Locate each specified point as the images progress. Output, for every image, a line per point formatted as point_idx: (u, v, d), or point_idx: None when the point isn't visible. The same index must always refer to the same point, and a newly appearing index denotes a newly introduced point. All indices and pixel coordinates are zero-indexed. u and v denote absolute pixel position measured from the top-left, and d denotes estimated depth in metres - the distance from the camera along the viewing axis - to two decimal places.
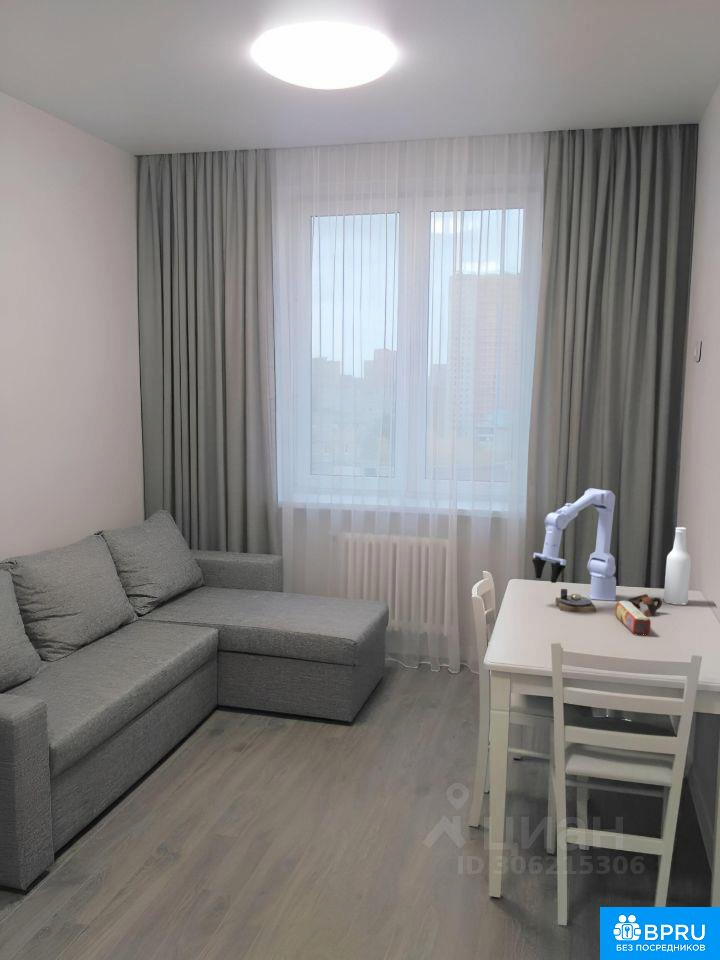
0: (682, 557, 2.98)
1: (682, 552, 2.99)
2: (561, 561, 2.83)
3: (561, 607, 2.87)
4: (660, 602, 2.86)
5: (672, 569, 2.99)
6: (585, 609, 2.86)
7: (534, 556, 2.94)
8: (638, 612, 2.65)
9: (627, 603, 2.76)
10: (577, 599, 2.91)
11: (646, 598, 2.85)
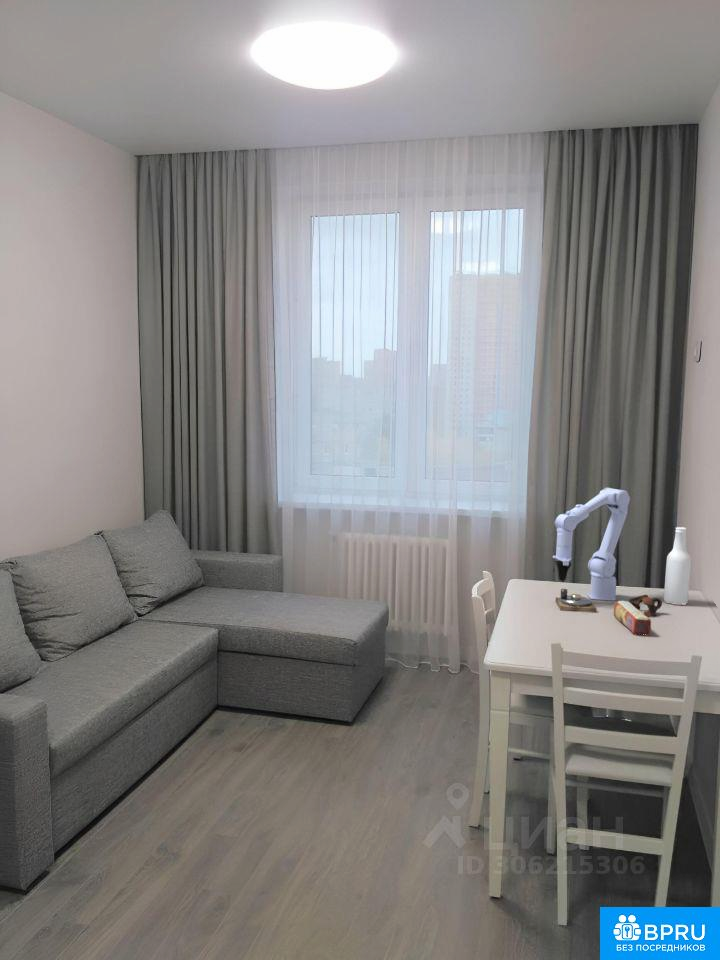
0: (682, 557, 2.98)
1: (682, 552, 2.99)
2: (563, 561, 2.92)
3: (561, 607, 2.87)
4: (660, 602, 2.86)
5: (672, 569, 2.99)
6: (585, 609, 2.86)
7: None
8: (638, 612, 2.65)
9: (626, 603, 2.76)
10: (577, 599, 2.91)
11: (646, 598, 2.84)
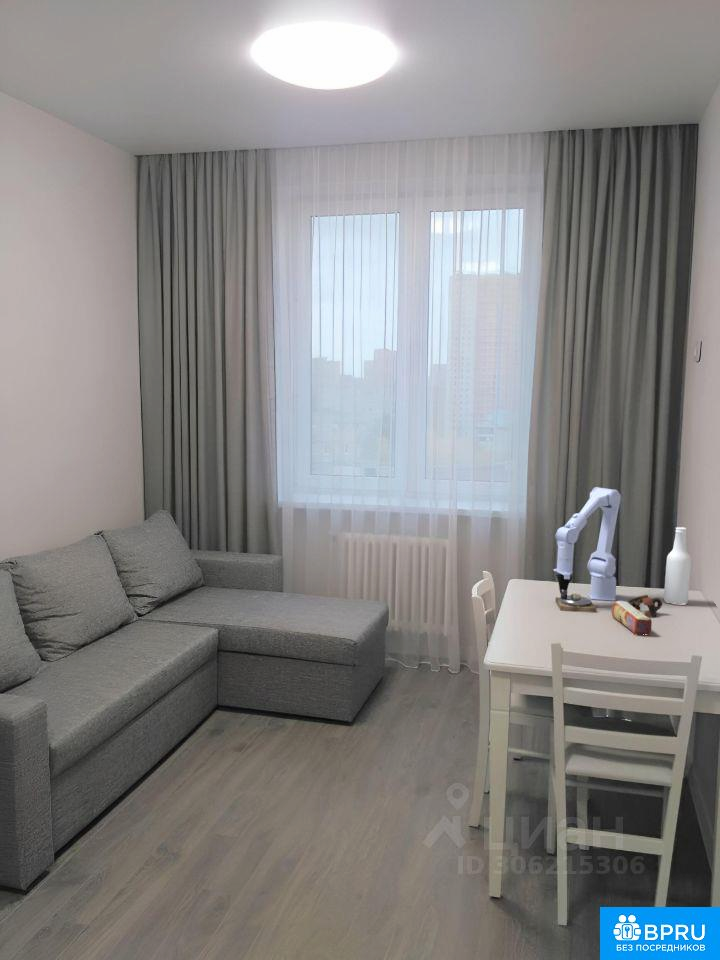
0: (682, 557, 2.98)
1: (682, 552, 2.99)
2: (564, 575, 2.88)
3: (561, 607, 2.87)
4: (660, 602, 2.85)
5: (672, 569, 2.99)
6: (585, 609, 2.86)
7: None
8: (638, 612, 2.65)
9: (624, 603, 2.76)
10: (577, 599, 2.91)
11: (646, 599, 2.84)
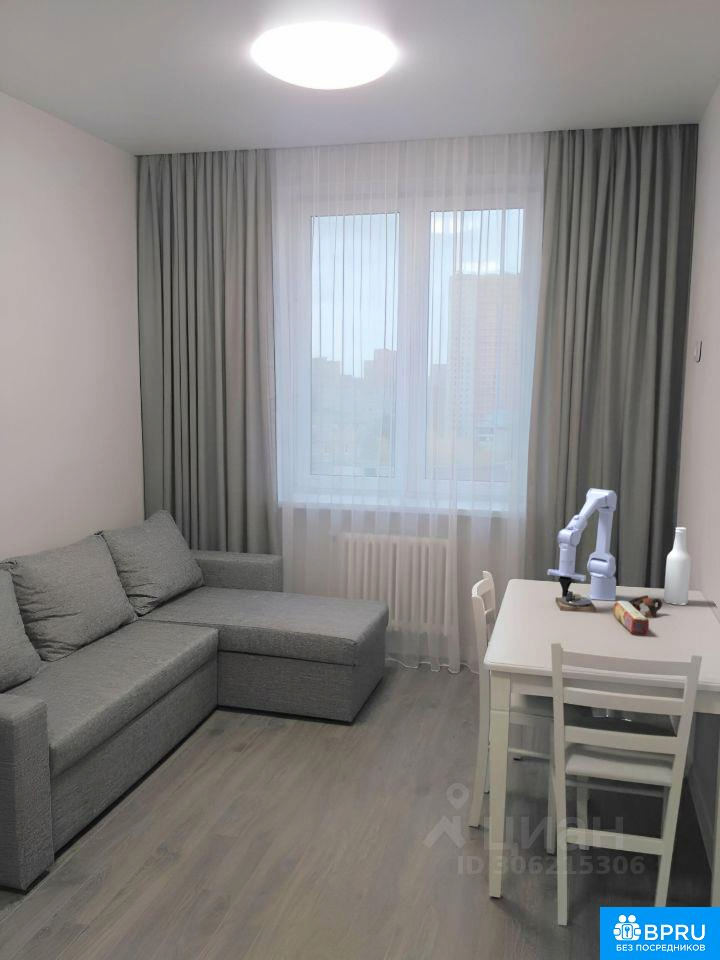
0: (682, 557, 2.98)
1: (682, 552, 2.99)
2: (582, 578, 2.85)
3: (561, 607, 2.87)
4: (660, 603, 2.85)
5: (672, 569, 2.99)
6: (585, 609, 2.86)
7: (549, 573, 2.93)
8: (636, 612, 2.65)
9: (625, 603, 2.76)
10: (580, 599, 2.92)
11: (647, 599, 2.83)
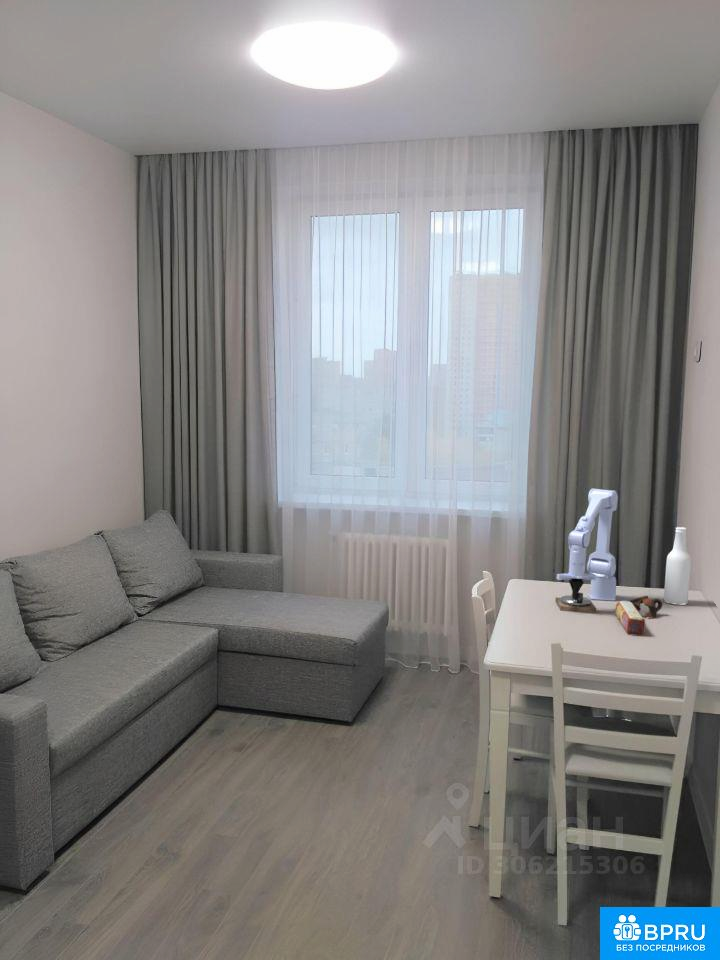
0: (682, 557, 2.98)
1: (682, 552, 2.99)
2: (594, 577, 2.87)
3: (561, 607, 2.87)
4: (660, 603, 2.84)
5: (672, 569, 2.99)
6: (585, 609, 2.86)
7: (560, 578, 2.85)
8: (634, 612, 2.65)
9: (627, 603, 2.76)
10: None
11: (647, 600, 2.83)
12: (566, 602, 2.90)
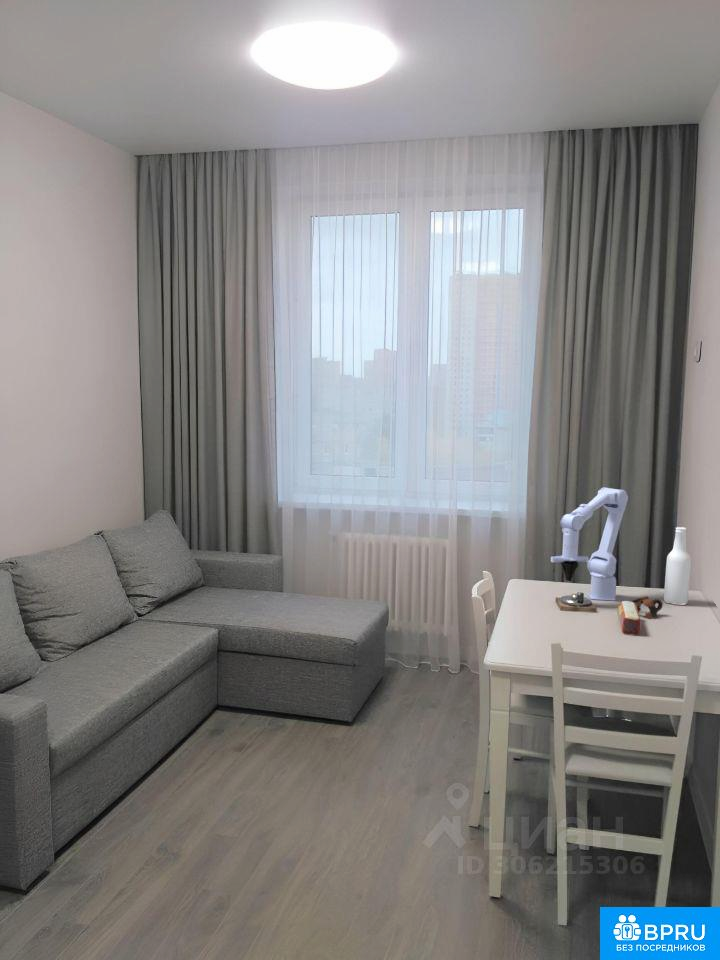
0: (682, 557, 2.98)
1: (682, 552, 2.99)
2: (587, 559, 2.95)
3: (561, 607, 2.87)
4: (660, 603, 2.84)
5: (672, 569, 2.99)
6: (585, 609, 2.86)
7: (554, 561, 2.93)
8: (632, 612, 2.65)
9: (628, 603, 2.76)
10: None
11: (647, 600, 2.82)
12: (567, 602, 2.89)
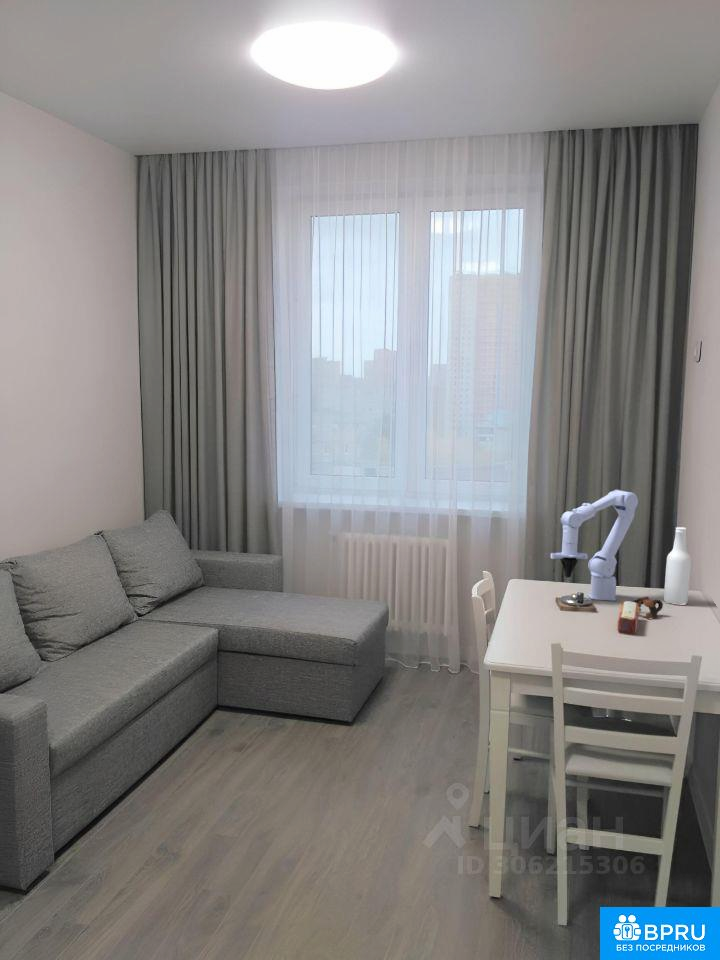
0: (682, 557, 2.98)
1: (682, 552, 2.99)
2: (586, 556, 3.00)
3: (561, 607, 2.87)
4: (661, 604, 2.83)
5: (672, 569, 2.99)
6: (585, 609, 2.86)
7: (553, 557, 2.98)
8: (630, 612, 2.65)
9: (630, 603, 2.75)
10: None
11: (647, 600, 2.81)
12: (567, 602, 2.89)
